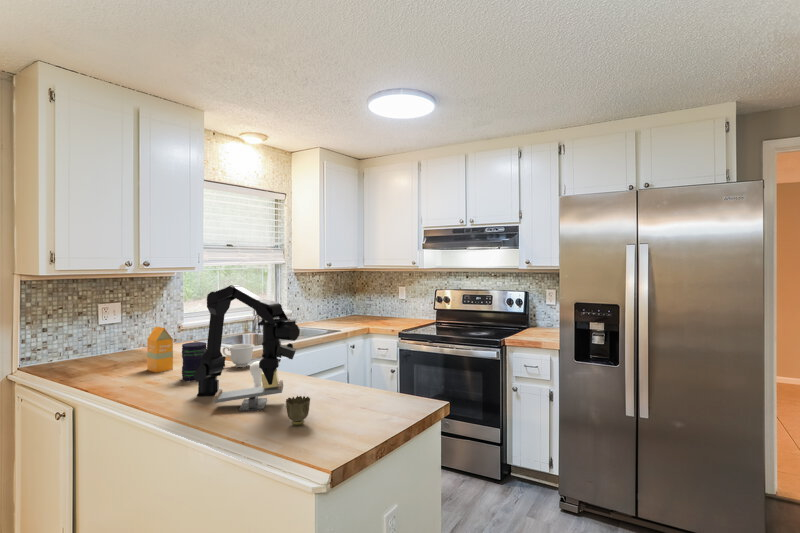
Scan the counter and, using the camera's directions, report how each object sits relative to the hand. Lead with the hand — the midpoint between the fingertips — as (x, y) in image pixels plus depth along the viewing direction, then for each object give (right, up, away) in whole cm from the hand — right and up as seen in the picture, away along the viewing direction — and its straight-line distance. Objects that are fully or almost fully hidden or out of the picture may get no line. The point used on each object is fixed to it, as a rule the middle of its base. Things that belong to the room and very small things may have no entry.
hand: (271, 382), depth 156 cm
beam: (-6, -4, -1) cm, 7 cm away
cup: (+14, -8, -20) cm, 25 cm away
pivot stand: (-6, -8, -1) cm, 10 cm away
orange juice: (-67, -8, +51) cm, 85 cm away
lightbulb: (-11, -8, +19) cm, 24 cm away
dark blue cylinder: (-44, -8, +35) cm, 57 cm away
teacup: (-33, -8, +58) cm, 67 cm away
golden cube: (0, -1, 0) cm, 1 cm away
